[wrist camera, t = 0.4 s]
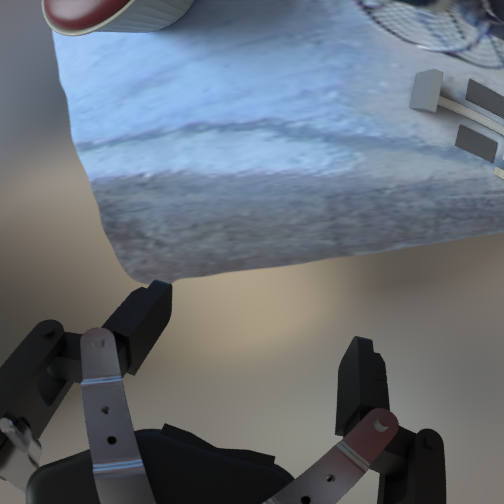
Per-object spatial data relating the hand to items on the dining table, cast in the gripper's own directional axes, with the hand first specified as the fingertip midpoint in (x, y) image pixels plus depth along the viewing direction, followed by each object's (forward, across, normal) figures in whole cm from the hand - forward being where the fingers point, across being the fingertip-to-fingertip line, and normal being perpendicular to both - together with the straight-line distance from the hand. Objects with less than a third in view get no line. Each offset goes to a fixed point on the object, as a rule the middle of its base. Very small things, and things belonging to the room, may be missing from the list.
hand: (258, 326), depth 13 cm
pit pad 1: (+33, -23, -18) cm, 44 cm away
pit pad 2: (+33, -23, -11) cm, 42 cm away
